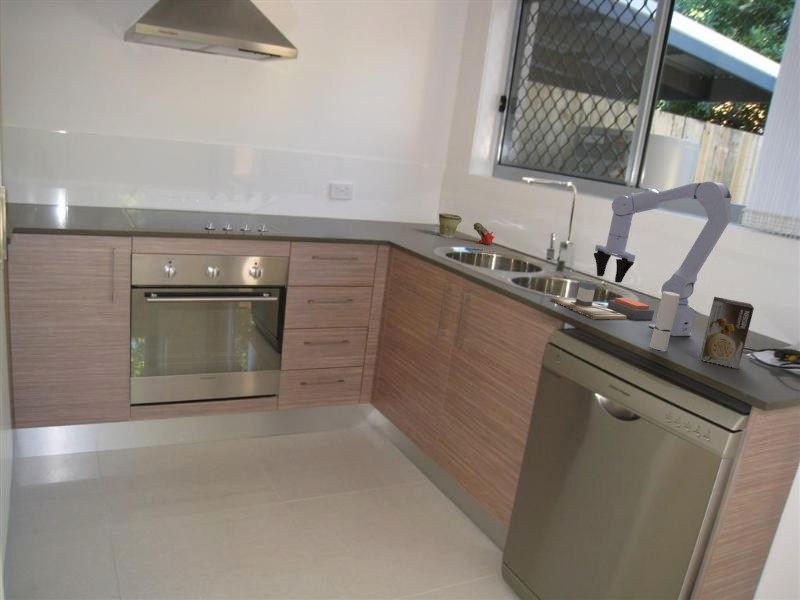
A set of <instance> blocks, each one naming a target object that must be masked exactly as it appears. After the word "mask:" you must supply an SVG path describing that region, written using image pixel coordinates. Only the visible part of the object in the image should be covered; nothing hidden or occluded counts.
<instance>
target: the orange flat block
mask: <svg viewBox="0 0 800 600" xmlns="http://www.w3.org/2000/svg"><path fill="white" fill-rule="evenodd" d="M614 300H615V302H617V303H620V304H622V305H625V306H627V307H630V308H633V309H635V310H649V309H650V305H648V304H645V303H643V302H641V301H637V300H635V299H632V298H630V297H615V298H614Z"/></svg>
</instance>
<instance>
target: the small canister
mask: <svg viewBox="0 0 800 600" xmlns="http://www.w3.org/2000/svg"><path fill="white" fill-rule="evenodd" d="M596 289H597V283H593V281H588V280H587V281H586V280H579V285H578V290H577V295H576V298H577V299H576V303H577V304H579V305H582V306H592V302H594V301H593V300H594V295H595V290H596Z"/></svg>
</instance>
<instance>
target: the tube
mask: <svg viewBox="0 0 800 600" xmlns="http://www.w3.org/2000/svg"><path fill="white" fill-rule="evenodd" d="M679 298H680V295H679V294H676V293H673V292H666V291H663V293H662V292H661V297H660V301H659V302H660V303H659V306H658V310H657V315H656V318H655V323H654V324H655V327H654V328H653V330H652V336H651V339H650V344H649V348H650V347H652V348H655V349H661V350H666V351H667V350H668V345H669V343H670V338H671V335H670V334H671V330H672V326H673V322H674V318H675V314H676V310H677V306H678V302H679ZM652 348H651V349H652Z"/></svg>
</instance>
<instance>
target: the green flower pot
mask: <svg viewBox="0 0 800 600" xmlns="http://www.w3.org/2000/svg"><path fill="white" fill-rule="evenodd" d="M438 223H439V236H440V237H443V238H448V239H449V238H450V239H453V238H454V237H455V234H456V230H457V227H458V226H459V224H460V223H462V217H461V216H460V215H458V214H453V213H445V212H444V213H443V212H440V213H438Z"/></svg>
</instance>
